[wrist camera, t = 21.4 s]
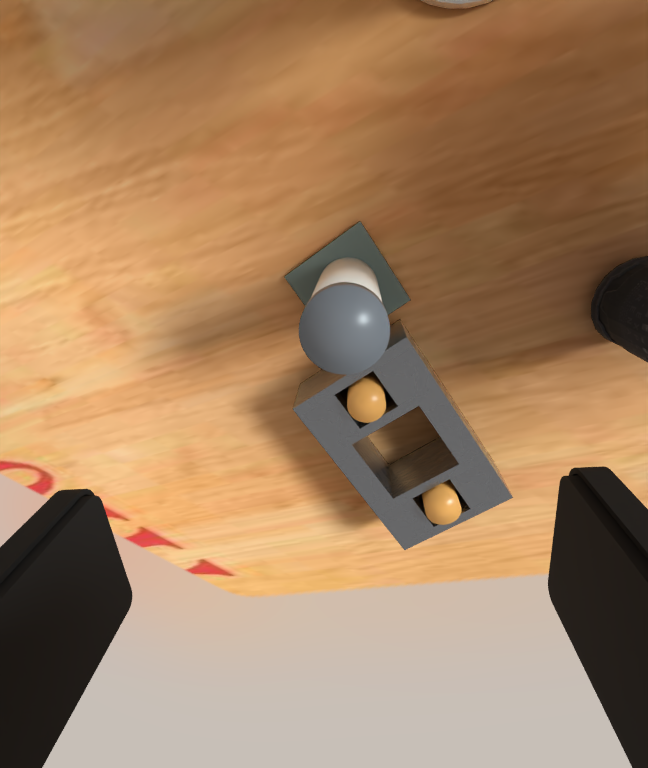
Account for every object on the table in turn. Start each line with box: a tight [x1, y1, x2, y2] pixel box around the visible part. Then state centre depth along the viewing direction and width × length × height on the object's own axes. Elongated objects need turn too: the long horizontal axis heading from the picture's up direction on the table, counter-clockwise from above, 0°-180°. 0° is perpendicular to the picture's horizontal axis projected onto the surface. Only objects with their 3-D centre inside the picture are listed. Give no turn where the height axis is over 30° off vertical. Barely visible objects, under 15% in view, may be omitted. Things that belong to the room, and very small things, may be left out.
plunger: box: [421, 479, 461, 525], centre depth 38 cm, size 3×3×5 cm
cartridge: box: [299, 257, 390, 374], centre depth 29 cm, size 5×5×12 cm
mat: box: [285, 221, 410, 315], centre depth 35 cm, size 7×7×1 cm
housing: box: [293, 320, 513, 550], centre depth 37 cm, size 16×10×5 cm, turn 35°
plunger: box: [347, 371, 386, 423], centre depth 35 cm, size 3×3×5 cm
